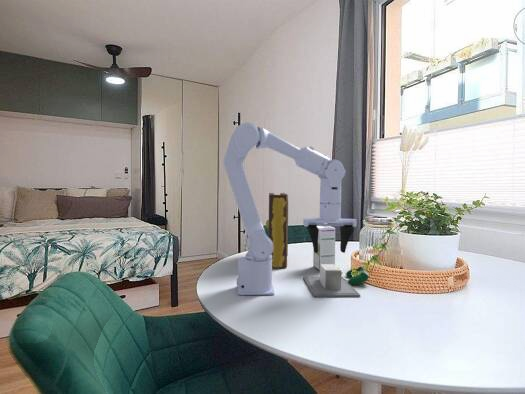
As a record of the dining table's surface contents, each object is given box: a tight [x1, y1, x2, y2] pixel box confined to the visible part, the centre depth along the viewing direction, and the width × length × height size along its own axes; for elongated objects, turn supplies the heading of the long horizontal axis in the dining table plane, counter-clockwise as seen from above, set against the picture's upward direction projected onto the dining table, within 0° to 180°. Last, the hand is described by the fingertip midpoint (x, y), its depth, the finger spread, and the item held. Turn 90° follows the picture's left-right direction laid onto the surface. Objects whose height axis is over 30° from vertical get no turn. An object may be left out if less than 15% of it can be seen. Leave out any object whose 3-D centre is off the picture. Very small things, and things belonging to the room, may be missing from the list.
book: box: [265, 192, 289, 270], centre depth 112 cm, size 22×8×25 cm, turn 179°
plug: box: [319, 264, 342, 290], centre depth 85 cm, size 4×9×5 cm, turn 3°
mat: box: [302, 276, 361, 298], centre depth 84 cm, size 12×15×1 cm
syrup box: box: [312, 226, 336, 272], centre depth 102 cm, size 6×6×14 cm
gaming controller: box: [345, 264, 370, 286], centre depth 90 cm, size 9×4×6 cm
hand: (329, 251), depth 84 cm, fingers open, 7 cm apart
